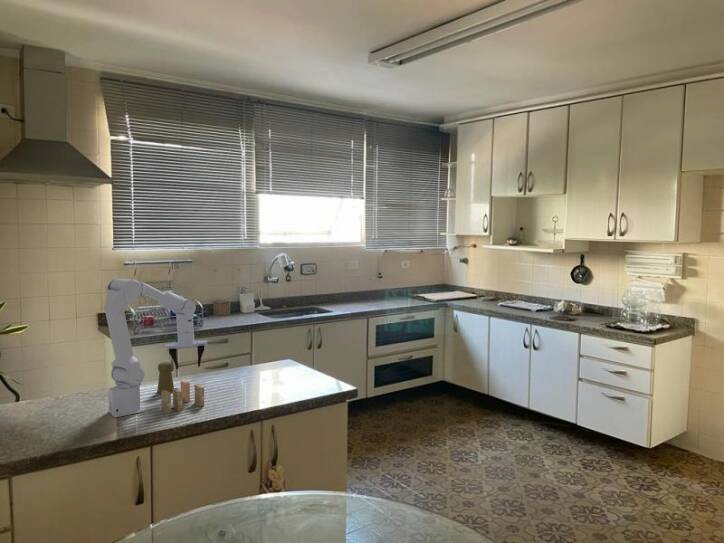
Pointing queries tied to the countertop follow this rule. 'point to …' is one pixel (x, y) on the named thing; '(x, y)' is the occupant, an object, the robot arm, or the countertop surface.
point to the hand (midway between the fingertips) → (188, 367)
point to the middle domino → (177, 399)
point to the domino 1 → (166, 401)
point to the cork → (165, 377)
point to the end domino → (199, 395)
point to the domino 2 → (185, 390)
